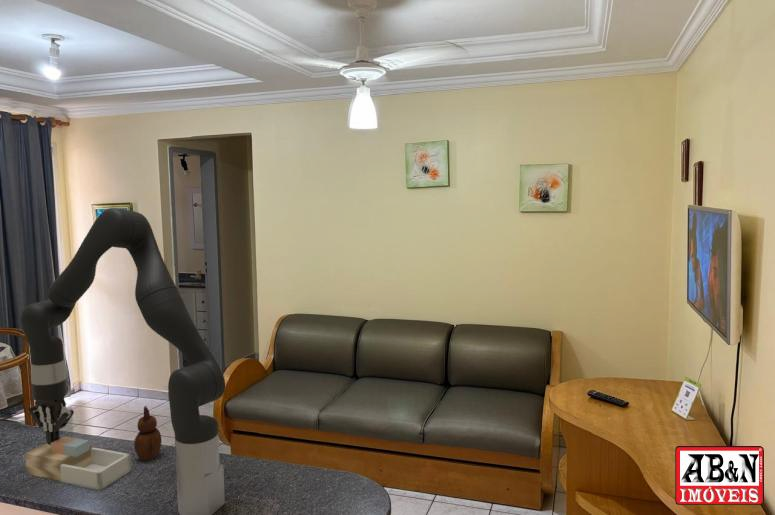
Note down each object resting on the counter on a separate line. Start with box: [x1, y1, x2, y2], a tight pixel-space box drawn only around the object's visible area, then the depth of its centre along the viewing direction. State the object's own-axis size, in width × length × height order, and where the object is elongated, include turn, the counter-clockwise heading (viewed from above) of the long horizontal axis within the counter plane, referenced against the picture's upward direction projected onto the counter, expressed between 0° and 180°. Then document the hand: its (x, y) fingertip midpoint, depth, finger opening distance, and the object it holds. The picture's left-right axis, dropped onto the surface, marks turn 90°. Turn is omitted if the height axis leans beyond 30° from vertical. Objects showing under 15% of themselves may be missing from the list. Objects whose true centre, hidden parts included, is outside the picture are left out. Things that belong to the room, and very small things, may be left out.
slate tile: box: [63, 437, 90, 457], centre depth 139 cm, size 4×4×2 cm
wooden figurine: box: [133, 405, 162, 461], centre depth 148 cm, size 7×6×15 cm
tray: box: [60, 447, 132, 492], centre depth 138 cm, size 12×10×4 cm
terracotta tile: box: [51, 435, 76, 455], centre depth 141 cm, size 4×4×2 cm
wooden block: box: [24, 442, 93, 482], centre depth 142 cm, size 12×9×6 cm
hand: (53, 443), depth 142 cm, fingers closed
